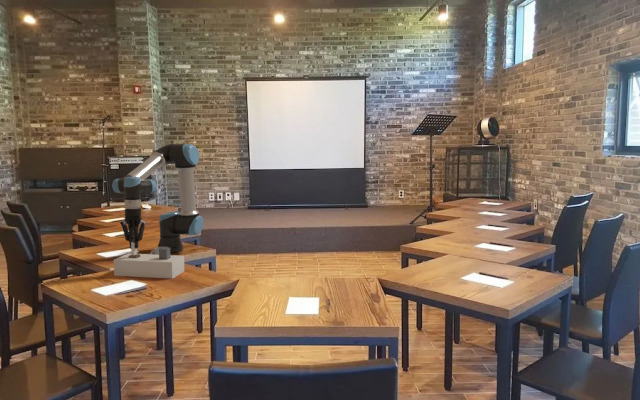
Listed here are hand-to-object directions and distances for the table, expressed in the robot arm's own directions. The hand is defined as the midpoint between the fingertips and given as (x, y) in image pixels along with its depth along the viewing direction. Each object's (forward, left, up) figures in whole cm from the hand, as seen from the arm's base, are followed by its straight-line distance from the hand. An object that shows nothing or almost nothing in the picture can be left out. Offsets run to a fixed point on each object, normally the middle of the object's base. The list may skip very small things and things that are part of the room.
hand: (134, 254), depth 238 cm
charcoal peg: (0, +16, -3) cm, 16 cm away
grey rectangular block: (0, +8, -9) cm, 12 cm away
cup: (-18, +4, -10) cm, 21 cm away
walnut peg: (0, 0, -7) cm, 7 cm away
